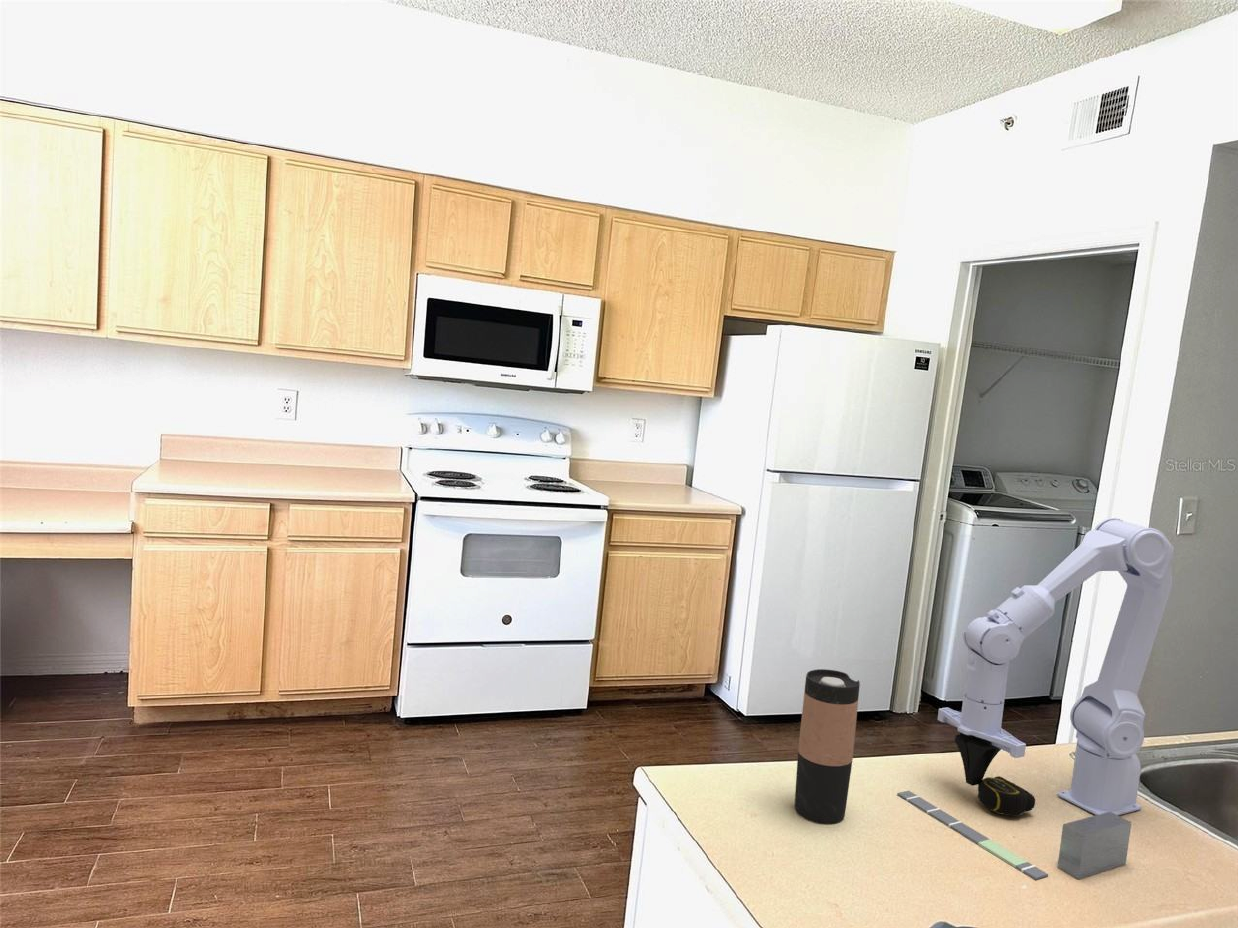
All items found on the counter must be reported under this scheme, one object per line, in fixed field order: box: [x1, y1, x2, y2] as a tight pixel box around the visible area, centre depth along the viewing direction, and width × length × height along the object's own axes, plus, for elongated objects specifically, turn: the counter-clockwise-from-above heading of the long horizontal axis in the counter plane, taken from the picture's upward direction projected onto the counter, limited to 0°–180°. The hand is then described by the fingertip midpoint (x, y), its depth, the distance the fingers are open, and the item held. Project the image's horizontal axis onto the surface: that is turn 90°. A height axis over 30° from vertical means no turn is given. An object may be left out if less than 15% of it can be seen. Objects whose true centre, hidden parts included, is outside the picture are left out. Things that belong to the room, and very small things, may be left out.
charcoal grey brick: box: [1057, 812, 1132, 880], centre depth 117 cm, size 10×4×6 cm, turn 118°
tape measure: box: [977, 775, 1036, 817], centre depth 131 cm, size 7×7×4 cm
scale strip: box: [896, 790, 1049, 881], centre depth 123 cm, size 2×24×1 cm, turn 28°
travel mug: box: [794, 668, 861, 825], centre depth 125 cm, size 8×8×20 cm
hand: (973, 783), depth 134 cm, fingers closed
